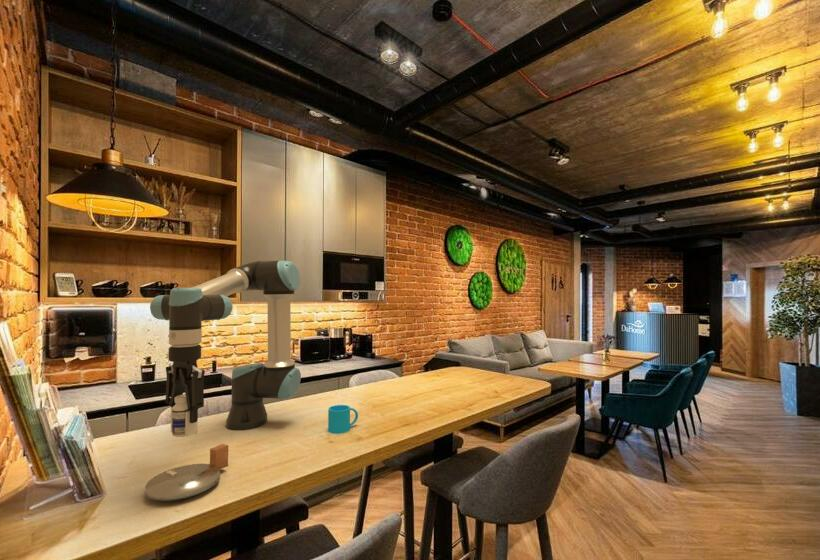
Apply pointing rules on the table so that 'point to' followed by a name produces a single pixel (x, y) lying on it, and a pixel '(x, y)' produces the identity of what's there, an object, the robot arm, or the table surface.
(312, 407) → the table surface
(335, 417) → the mug
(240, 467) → the table surface
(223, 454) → the disc
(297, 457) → the table surface
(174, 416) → the pill bottle
